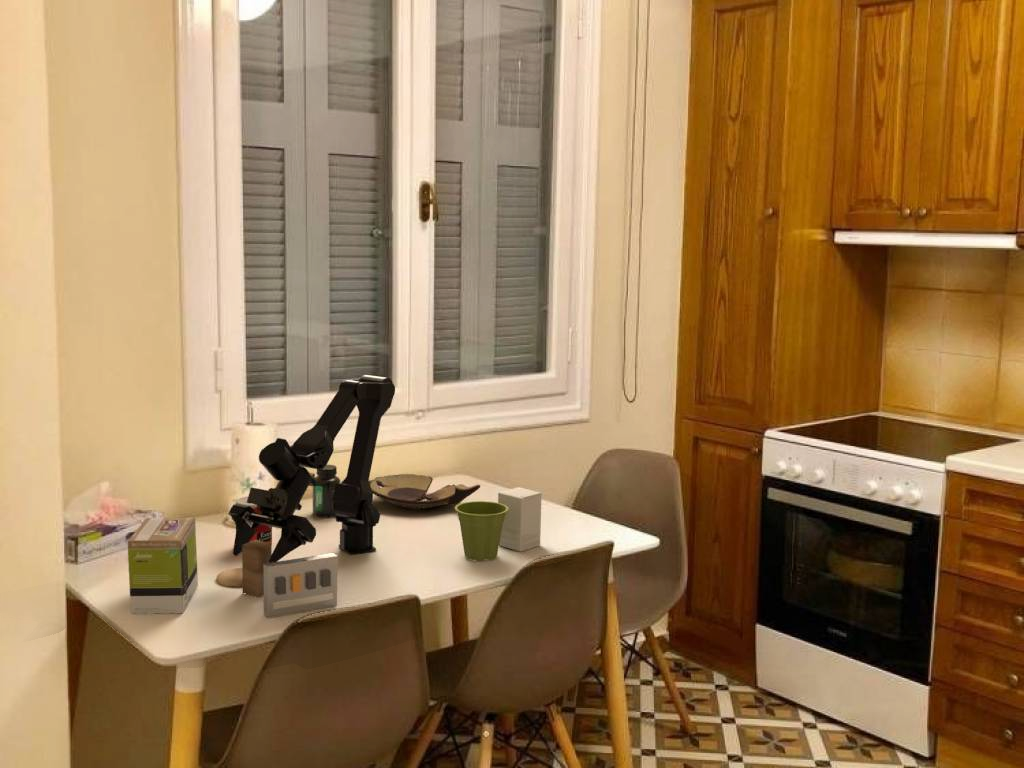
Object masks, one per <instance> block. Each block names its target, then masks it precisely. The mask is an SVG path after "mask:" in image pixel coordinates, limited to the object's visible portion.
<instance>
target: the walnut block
mask: <svg viewBox="0 0 1024 768" xmlns="http://www.w3.org/2000/svg"><path fill="white" fill-rule="evenodd" d="M272 547H273V546H271V543H268V542H264V541H259V540H254V541H251V542H249V543H246V544H243V545H242V552H241V557H242V559H241V560H242V561H241V568H242V587H241V589H242V594H243V593H246V594H245V595H247V594H249V595H248V596H250V595H253V596H252V597H254V596H257V597H256V598H260V597H262V596H261V595H263V596H264V564H265V563H269V560H270V557H271V555H272V553H273V551H272V550H273V549H272ZM259 596H260V597H259Z"/></svg>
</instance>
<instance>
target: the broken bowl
mask: <svg viewBox="0 0 1024 768" xmlns="http://www.w3.org/2000/svg"><path fill="white" fill-rule="evenodd" d="M433 480H434V479H433V477H432V476H429V475H422V474H413V473H403V474H402V473H401V474H393V475H391V474H390V475H384V476H376V477H375V478H374V479H372V480H369V484H370V487H371V489H372V492H373V496H377V497H378V498H380V499H382V500H384V501H386V502H388V503H390V504H393V505H396V506H397V507H398V506H399V507H402V508H406V509H429V508H434V507H438V506H441V505H450V506H456V505H458V504H461V503H462V502H463V501H464V500H465V499H467V498H468V497H470V496H471V495H472V494H474V493H475V492H477V491H478V490H479V489H480V488H481V485H480V484H475V485H472V486H466V485H464V484H463V483H459V484H457V485H456V484H452V485H451V484H447V485H445V486H442V487H441V488H440V489H437V490H435V491H433V492H431V493H430V494H427V493H428V491H429V490H430V487H431V485H432V483H433ZM426 494H427V495H426ZM423 498H424V499H425V500H422V499H423Z"/></svg>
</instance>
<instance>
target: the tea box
mask: <svg viewBox="0 0 1024 768" xmlns="http://www.w3.org/2000/svg"><path fill="white" fill-rule="evenodd" d="M196 527H197V526H196V517H195V516H194V517H193V516H192V517H145V519H144V520H143V522H141V524H140V525H139V526H138V528H137V529H136V530H135V531H134V533H133V534H132V535H131V536H130V538H129V539H128V540H127V561H128V582H129V583H128V584H129V601H130V602H129V604H130V605H129V606H130V613H131V614H132V615H138V614H137V613H142V614H141V615H148V613H176V614H183V613H184V611H185V610H186V608H187V606H188V604H189V602H190V601H191V600H192V597H193V595H194V594H195V592H196V590H197V588H198V587H199V575H198V574H199V573H198V555H197V553H198V552H197V536H196V535H197V534H196V533H197V530H196V529H197V528H196ZM135 613H136V614H135Z"/></svg>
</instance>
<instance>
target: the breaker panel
mask: <svg viewBox="0 0 1024 768" xmlns="http://www.w3.org/2000/svg"><path fill="white" fill-rule="evenodd" d="M337 606H338V555H337V554H335V553H334V552H333V553H325V554H324V553H323V554H318V555H312V556H306V557H299V558H298V557H297V558H291V559H285V560H279V561H277V562H272V563H265V564H264V595H263V615H264V617H265V618H267V619H270V618H276V617H277V618H278V617H280V616H281V617H282V616H288V615H293V614H298V613H303V612H310V611H315V610H320V609H326V608H331V607H332V608H333V607H337Z"/></svg>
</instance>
